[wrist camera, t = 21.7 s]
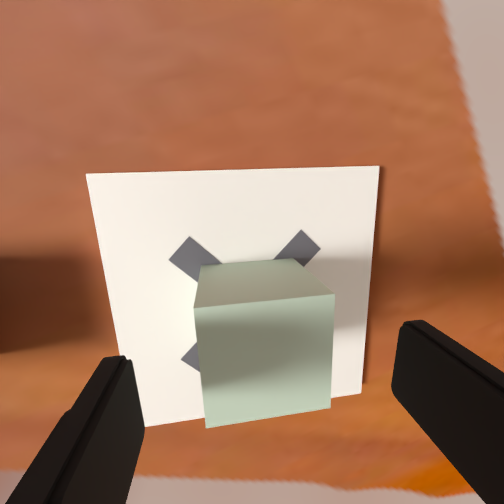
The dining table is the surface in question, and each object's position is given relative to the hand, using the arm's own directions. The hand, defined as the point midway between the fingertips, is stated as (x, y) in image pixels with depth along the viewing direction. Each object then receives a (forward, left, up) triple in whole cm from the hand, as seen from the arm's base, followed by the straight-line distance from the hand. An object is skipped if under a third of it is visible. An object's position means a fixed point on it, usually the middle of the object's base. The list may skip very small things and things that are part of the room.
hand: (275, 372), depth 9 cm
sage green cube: (+1, 0, -7) cm, 7 cm away
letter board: (+1, 0, -8) cm, 8 cm away
